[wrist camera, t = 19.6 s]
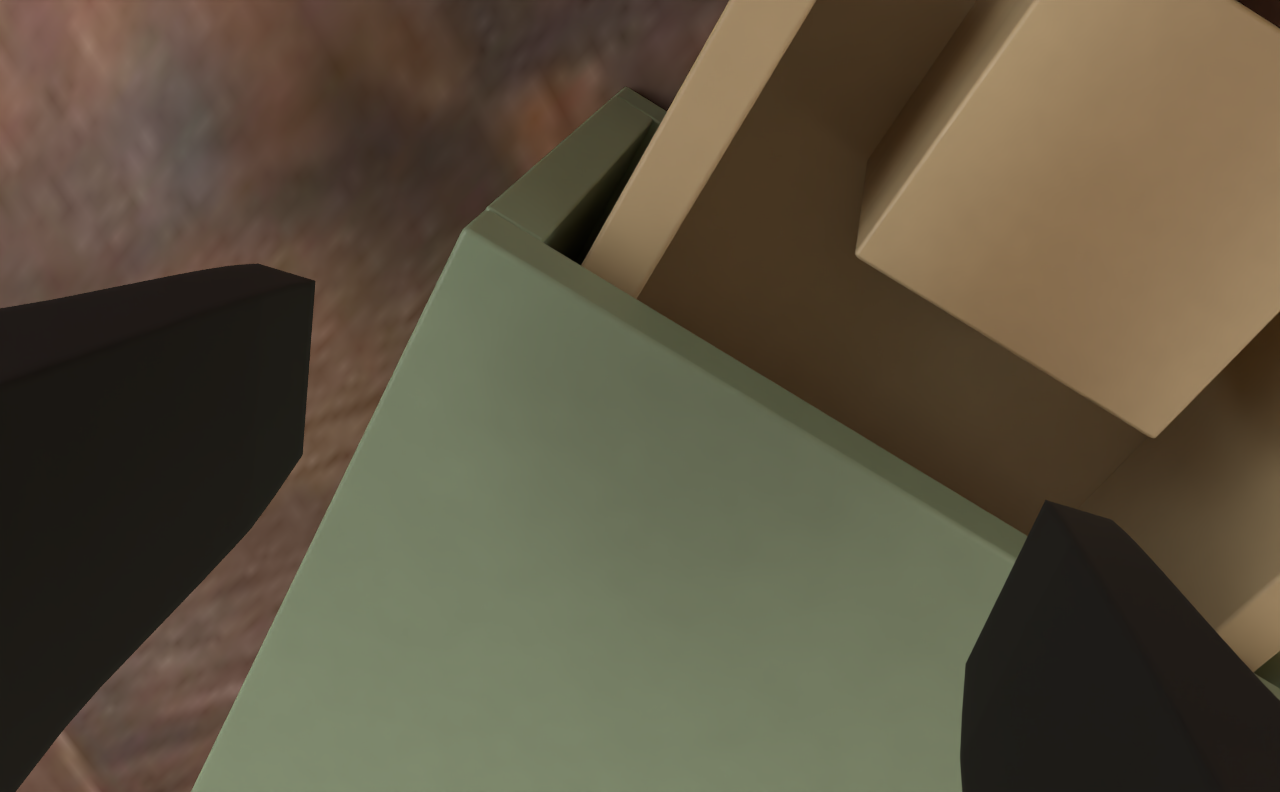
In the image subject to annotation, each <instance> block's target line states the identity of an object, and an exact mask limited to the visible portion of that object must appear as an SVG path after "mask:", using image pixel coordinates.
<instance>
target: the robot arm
mask: <svg viewBox="0 0 1280 792" xmlns="http://www.w3.org/2000/svg"><path fill="white" fill-rule="evenodd" d="M314 292H315V281H314V280H311V279H307V278H304V277H301V276H297V275H294V274H291V273H287V272H284V271H281V270H277V269H274V268H271V267H267V266H264V265H261V264H245V265H234V266H225V267H219V268H212V269H206V270H200V271H195V272H189V273H184V274H179V275H173V276H168V277H163V278H158V279H153V280H148V281H143V282H138V283H133V284H128V285H123V286H118V287H113V288H108V289H103V290H98V291H93V292H88V293H84V294H79V295H74V296H69V297H64V298H58V299H53V300H48V301H42V302H36V303H30V304H24V305H18V306H12V307H6V308H0V792H16V790H17V789H18V788H19V787H20V785H21V784H22V783H23V781H24V780H25V779H26V777H27V776H28V775H29V774H30V772H31V771H32V770H33V768H34V767H35V766H36V764H37V763H38V762H39V761H40V759H41V758H42V757H43V755H44V754H45V753H46V752H47V750H48V749H49V748H50V746H51V745H52V744H53V742H54V741H55V740H56V739H57V737H58V736H59V735H60V733H61V732H62V731H63V730H64V728H65V727H66V726H67V725H68V724H69V723H70V721H71V720H72V719H73V718H74V717H75V716H76V715H77V713H78V712H79V711H80V710H81V709H82V708H83V707H84V705H85V704H86V703H87V702H88V701H89V700H90V699H91V697H92V696H93V695H94V694H95V693H96V692H97V691H98V689H99V688H100V687H101V686H102V685H103V684H104V683H105V682H106V681H107V680H108V679H109V678H110V677H111V676H112V675H113V674H114V673H115V672H116V671H117V670H118V668H119V667H120V666H121V665H122V664H123V663H124V662H125V661H126V660H127V659H128V658H129V657H130V656H131V655H132V654H133V653H134V652H135V651H136V650H137V649H138V648H139V647H140V646H141V644H142V643H143V642H144V641H145V640H146V639H147V638H148V637H149V636H150V635H151V634H152V633H153V632H154V631H155V630H156V629H157V628H158V627H159V626H160V625H161V624H162V623H163V622H164V620H165V619H166V618H167V617H168V616H169V615H170V614H171V613H172V612H173V611H174V610H175V609H176V608H177V607H178V606H179V605H180V604H181V603H182V602H183V601H184V600H185V599H186V598H187V596H188V595H189V594H190V593H191V592H192V591H193V590H194V589H195V588H196V587H197V586H198V585H199V584H200V583H201V582H202V581H203V580H204V579H205V578H206V576H207V575H208V574H209V573H210V572H211V571H212V570H213V569H214V568H215V567H216V566H217V565H218V564H219V563H220V562H221V561H222V559H223V558H224V557H225V556H226V555H227V554H228V553H229V552H230V551H231V550H232V549H233V548H234V547H235V546H236V544H237V543H238V542H239V541H240V540H241V539H242V538H243V537H244V536H245V535H246V533H247V532H248V531H249V530H250V529H251V528H252V526H253V525H254V524H255V522H256V521H257V520H258V518H259V517H260V515H261V514H262V513H263V511H264V510H265V509H266V507H267V506H268V504H269V503H270V502H271V500H272V499H273V498H274V496H275V495H276V493H277V492H278V490H279V489H280V487H281V486H282V484H283V483H284V481H285V480H286V478H287V477H288V475H289V474H290V473H291V471H292V470H293V468H294V467H295V465H296V464H297V462H298V461H299V459H300V458H301V456H302V454H303V440H304V427H305V414H306V400H307V387H308V373H309V360H310V346H311V333H312V319H313V306H314ZM960 767H961V782H962V792H1280V700H1279V699H1278V698H1277V697H1276V696H1275V695H1274V694H1273V693H1272V692H1271V691H1270V690H1269V689H1268V688H1267V687H1266V686H1265V685H1264V684H1263V683H1262V681H1261V680H1260V679H1259V678H1258V677H1257V676H1256V675H1255V674H1254V673H1253V672H1252V671H1251V670H1250V668H1249V667H1248V666H1247V665H1246V664H1245V663H1244V662H1243V661H1242V660H1241V659H1240V658H1239V656H1238V655H1237V654H1236V653H1235V652H1234V651H1233V650H1232V649H1231V648H1230V647H1229V645H1228V644H1227V643H1226V642H1225V641H1224V640H1223V639H1222V638H1221V637H1220V635H1219V634H1218V633H1217V632H1216V631H1215V630H1214V629H1213V628H1212V626H1211V625H1210V624H1209V623H1208V622H1207V621H1206V620H1205V619H1204V618H1203V616H1202V615H1201V614H1200V613H1199V612H1198V611H1197V610H1196V609H1195V607H1194V606H1193V605H1192V604H1191V603H1190V602H1189V601H1188V599H1187V598H1186V597H1185V596H1184V595H1183V594H1182V593H1181V592H1180V590H1179V589H1178V588H1177V587H1176V586H1175V585H1174V584H1173V583H1172V581H1171V580H1170V579H1169V578H1168V577H1167V576H1166V575H1165V574H1164V572H1163V571H1162V570H1161V569H1160V568H1159V567H1158V566H1157V565H1156V564H1155V562H1154V561H1153V560H1152V559H1151V558H1150V557H1149V556H1148V555H1147V554H1146V553H1145V552H1144V550H1143V549H1142V548H1141V547H1140V546H1139V545H1138V544H1137V543H1136V542H1135V541H1134V540H1133V539H1132V538H1131V537H1130V536H1129V535H1128V534H1127V533H1126V532H1125V531H1124V530H1123V529H1122V528H1121V527H1119V526H1118V525H1117V524H1116V523H1115V522H1114V521H1113V520H1111V519H1108V518H1105V517H1101V516H1098V515H1095V514H1091V513H1088V512H1085V511H1081V510H1078V509H1075V508H1071V507H1068V506H1065V505H1061V504H1058V503H1055V502H1051V501H1048V500H1045V502H1044V504H1043V506H1042V508H1041V510H1040V512H1039V514H1038V516H1037V518H1036V520H1035V522H1034V524H1033V526H1032V528H1031V530H1030V532H1029V535H1028V537H1027V539H1026V541H1025V543H1024V545H1023V547H1022V549H1021V551H1020V553H1019V555H1018V557H1017V559H1016V561H1015V563H1014V565H1013V567H1012V569H1011V571H1010V574H1009V576H1008V578H1007V580H1006V582H1005V584H1004V586H1003V588H1002V590H1001V592H1000V594H999V596H998V598H997V600H996V602H995V604H994V606H993V608H992V611H991V613H990V615H989V617H988V619H987V621H986V623H985V625H984V627H983V629H982V631H981V633H980V635H979V637H978V639H977V641H976V643H975V645H974V647H973V650H972V652H971V654H970V656H969V658H968V660H967V662H966V664H965V678H964V692H963V705H962V722H961V744H960Z"/></svg>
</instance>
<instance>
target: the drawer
mask: <svg viewBox="0 0 1280 792" xmlns="http://www.w3.org/2000/svg"><path fill="white" fill-rule="evenodd" d="M975 2H976V0H729V2H728V4H727V5H726V7H725V9H724V11H723V13H722V14H721V16H720V18H719V20H718V22H717V23H716V25H715V27H714V29H713V31H712V32H711V34H710V36H709V38H708V39H707V41H706V43H705V45H704V47H703V48H702V50H701V52H700V54H699V56H698V57H697V59H696V61H695V63H694V64H693V66H692V68H691V70H690V72H689V73H688V75H687V77H686V79H685V81H684V82H683V84H682V86H681V88H680V89H679V91H678V93H677V95H676V97H675V98H674V100H673V102H672V104H671V106H670V107H669V109H668V111H667V113H666V114H665V116H664V118H663V120H662V122H661V123H660V125H659V127H658V129H657V131H656V132H655V134H654V136H653V138H652V140H651V141H650V143H649V145H648V147H647V148H646V150H645V152H644V154H643V156H642V157H641V159H640V161H639V163H638V165H637V166H636V168H635V170H634V172H633V173H632V175H631V177H630V179H629V181H628V182H627V184H626V186H625V188H624V190H623V191H622V193H621V195H620V197H619V198H618V200H617V202H616V204H615V206H614V207H613V209H612V211H611V213H610V215H609V216H608V218H607V220H606V222H605V223H604V225H603V227H602V229H601V231H600V232H599V234H598V236H597V238H596V240H595V241H594V243H593V245H592V247H591V249H590V250H589V252H588V254H587V256H586V257H585V259H584V261H583V263H582V265H581V266H582V267H584V268H586V269H587V270H589V271H591V272H592V273H594V274H596V275H597V276H599V277H601V278H602V279H604V280H605V281H607V282H609V283H610V284H612V285H614V286H615V287H617V288H619V289H620V290H622V291H624V292H625V293H627V294H629V295H630V296H632V297H634V298H635V299H637V300H639V301H640V302H642V303H643V304H645V305H647V306H648V307H650V308H652V309H653V310H655V311H657V312H658V313H660V314H662V315H663V316H665V317H667V318H668V319H670V320H672V321H673V322H675V323H677V324H678V325H680V326H681V327H683V328H685V329H686V330H688V331H690V332H691V333H693V334H695V335H696V336H698V337H700V338H701V339H703V340H705V341H706V342H708V343H710V344H711V345H713V346H714V347H716V348H718V349H719V350H721V351H723V352H724V353H726V354H728V355H729V356H731V357H733V358H734V359H736V360H738V361H739V362H741V363H743V364H744V365H746V366H748V367H749V368H751V369H752V370H754V371H756V372H757V373H759V374H761V375H762V376H764V377H766V378H767V379H769V380H771V381H772V382H774V383H776V384H777V385H779V386H781V387H782V388H784V389H786V390H787V391H789V392H790V393H792V394H794V395H795V396H797V397H799V398H800V399H802V400H804V401H805V402H807V403H809V404H810V405H812V406H814V407H815V408H817V409H819V410H820V411H822V412H824V413H825V414H827V415H828V416H830V417H832V418H833V419H835V420H837V421H838V422H840V423H842V424H843V425H845V426H847V427H848V428H850V429H852V430H853V431H855V432H857V433H858V434H860V435H861V436H863V437H865V438H866V439H868V440H870V441H871V442H873V443H875V444H876V445H878V446H880V447H881V448H883V449H885V450H886V451H888V452H890V453H891V454H893V455H895V456H896V457H898V458H899V459H901V460H903V461H904V462H906V463H908V464H909V465H911V466H913V467H914V468H916V469H918V470H919V471H921V472H923V473H924V474H926V475H928V476H929V477H931V478H933V479H934V480H936V481H937V482H939V483H941V484H942V485H944V486H946V487H947V488H949V489H951V490H952V491H954V492H956V493H957V494H959V495H961V496H962V497H964V498H966V499H967V500H969V501H970V502H972V503H974V504H975V505H977V506H979V507H980V508H982V509H984V510H985V511H987V512H989V513H990V514H992V515H994V516H995V517H997V518H999V519H1000V520H1002V521H1004V522H1005V523H1007V524H1008V525H1010V526H1012V527H1013V528H1015V529H1017V530H1018V531H1020V532H1022V533H1023V534H1025V535H1027V536H1028V535H1029V532H1030V530H1031V528H1032V526H1033V524H1034V522H1035V520H1036V518H1037V516H1038V514H1039V512H1040V510H1041V508H1042V506H1043V504H1044V502H1045V500H1048V501H1051V502H1055V503H1058V504H1061V505H1065V506H1068V507H1071V508H1075V509H1078V510H1081V511H1085V512H1088V513H1091V514H1095V515H1098V516H1101V517H1105V518H1108V519H1111V520H1113V521H1114V522H1115V523H1116V524H1117V525H1118V526H1119V527H1121V528H1122V529H1123V530H1124V531H1125V532H1126V533H1127V534H1128V535H1129V536H1130V537H1131V538H1132V539H1133V540H1134V541H1135V542H1136V543H1137V544H1138V545H1139V546H1140V547H1141V548H1142V549H1143V550H1144V552H1145V553H1146V554H1147V555H1148V556H1149V557H1150V558H1151V559H1152V560H1153V561H1154V562H1155V564H1156V565H1157V566H1158V567H1159V568H1160V569H1161V570H1162V571H1163V572H1164V574H1165V575H1166V576H1167V577H1168V578H1169V579H1170V580H1171V581H1172V583H1173V584H1174V585H1175V586H1176V587H1177V588H1178V589H1179V590H1180V592H1181V593H1182V594H1183V595H1184V596H1185V597H1186V598H1187V599H1188V601H1189V602H1190V603H1191V604H1192V605H1193V606H1194V607H1195V609H1196V610H1197V611H1198V612H1199V613H1200V614H1201V615H1202V616H1203V618H1204V619H1205V620H1206V621H1207V622H1208V623H1209V624H1210V625H1211V626H1212V628H1213V629H1214V630H1215V631H1216V632H1217V633H1218V634H1219V635H1220V637H1221V638H1222V639H1223V640H1224V641H1225V642H1226V643H1227V644H1228V645H1229V647H1230V648H1231V649H1232V650H1233V651H1234V652H1235V653H1236V654H1237V655H1238V656H1239V658H1240V659H1241V660H1242V661H1243V662H1244V663H1245V664H1246V665H1247V666H1248V667H1249V668H1250V670H1251V671H1252V672H1255V671H1256V670H1257V669H1258V668H1259V667H1261V666H1262V665H1263V664H1264V663H1266V662H1267V661H1268V660H1269V659H1270V658H1272V657H1273V656H1274V655H1275V654H1277V653H1278V652H1279V651H1280V312H1279V313H1278V314H1277V315H1276V316H1275V317H1274V318H1273V319H1272V320H1271V321H1270V322H1269V323H1268V324H1267V325H1266V326H1265V327H1264V328H1263V329H1262V330H1261V331H1260V332H1259V333H1258V334H1257V335H1256V336H1255V337H1254V338H1253V339H1252V340H1251V341H1250V342H1249V343H1248V344H1247V345H1246V346H1245V347H1244V348H1243V349H1242V350H1241V351H1240V353H1239V354H1238V355H1237V356H1236V357H1235V358H1234V359H1233V360H1232V361H1231V362H1230V363H1229V364H1228V365H1227V366H1226V367H1225V368H1224V369H1223V370H1222V371H1221V372H1220V373H1219V374H1218V375H1217V376H1216V377H1215V378H1214V379H1213V380H1212V381H1211V382H1210V383H1209V384H1208V385H1207V386H1206V387H1205V388H1204V389H1203V390H1202V391H1201V392H1200V393H1199V394H1198V395H1197V396H1196V397H1195V398H1194V399H1193V400H1192V401H1191V403H1190V404H1189V405H1188V406H1187V407H1186V408H1185V409H1184V410H1183V411H1182V412H1181V413H1180V414H1179V415H1178V416H1177V417H1176V418H1175V419H1174V420H1173V421H1172V422H1171V423H1170V424H1169V425H1168V426H1167V427H1166V428H1165V429H1164V430H1163V431H1162V432H1161V433H1160V434H1159V435H1158V436H1157V437H1156V438H1150V437H1148V436H1147V435H1145V434H1143V433H1142V432H1140V431H1138V430H1137V429H1135V428H1134V427H1132V426H1130V425H1129V424H1127V423H1125V422H1124V421H1122V420H1121V419H1119V418H1117V417H1116V416H1114V415H1112V414H1111V413H1109V412H1108V411H1106V410H1104V409H1103V408H1101V407H1099V406H1098V405H1096V404H1095V403H1093V402H1091V401H1090V400H1088V399H1086V398H1085V397H1083V396H1082V395H1080V394H1078V393H1077V392H1075V391H1073V390H1072V389H1070V388H1069V387H1067V386H1065V385H1064V384H1062V383H1060V382H1059V381H1057V380H1056V379H1054V378H1052V377H1051V376H1049V375H1047V374H1046V373H1044V372H1043V371H1041V370H1039V369H1038V368H1036V367H1034V366H1033V365H1031V364H1030V363H1028V362H1026V361H1025V360H1023V359H1021V358H1020V357H1018V356H1017V355H1015V354H1013V353H1012V352H1010V351H1008V350H1007V349H1005V348H1004V347H1002V346H1000V345H999V344H997V343H995V342H994V341H992V340H991V339H989V338H987V337H986V336H984V335H982V334H981V333H979V332H978V331H976V330H974V329H973V328H971V327H969V326H968V325H966V324H965V323H963V322H961V321H960V320H958V319H956V318H955V317H953V316H952V315H950V314H948V313H947V312H945V311H943V310H942V309H940V308H939V307H937V306H935V305H934V304H932V303H930V302H929V301H927V300H926V299H924V298H922V297H921V296H919V295H917V294H916V293H914V292H913V291H911V290H909V289H908V288H906V287H904V286H903V285H901V284H900V283H898V282H896V281H895V280H893V279H891V278H890V277H888V276H886V275H885V274H883V273H882V272H880V271H878V270H877V269H875V268H873V267H872V266H870V265H869V264H867V263H865V262H864V261H862V260H860V259H859V258H857V256H856V255H855V249H856V242H857V234H858V227H859V219H860V212H861V204H862V196H863V189H864V181H865V174H866V166H867V160H868V159H869V157H870V156H871V154H872V153H873V151H874V150H875V148H876V147H877V145H878V144H879V143H880V141H881V140H882V138H883V137H884V135H885V134H886V132H887V131H888V129H889V128H890V126H891V125H892V123H893V122H894V121H895V119H896V118H897V116H898V115H899V113H900V112H901V110H902V109H903V107H904V106H905V104H906V103H907V101H908V100H909V98H910V97H911V96H912V94H913V93H914V91H915V90H916V88H917V87H918V85H919V84H920V82H921V81H922V79H923V78H924V76H925V75H926V74H927V72H928V71H929V69H930V68H931V66H932V65H933V63H934V62H935V60H936V59H937V57H938V56H939V54H940V53H941V52H942V50H943V49H944V47H945V46H946V44H947V43H948V41H949V40H950V38H951V37H952V35H953V34H954V32H955V31H956V29H957V28H958V27H959V25H960V24H961V22H962V21H963V19H964V18H965V16H966V15H967V13H968V12H969V10H970V9H971V7H972V6H973V5H974V3H975Z"/></svg>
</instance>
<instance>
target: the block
mask: <svg viewBox="0 0 1280 792" xmlns="http://www.w3.org/2000/svg"><path fill="white" fill-rule="evenodd" d="M855 255H856V256H857V258H859V259H860V260H862V261H864V262H865V263H867V264H869V265H870V266H872V267H873V268H875V269H877V270H878V271H880V272H882V273H883V274H885V275H886V276H888V277H890V278H891V279H893V280H895V281H896V282H898V283H900V284H901V285H903V286H904V287H906V288H908V289H909V290H911V291H913V292H914V293H916V294H917V295H919V296H921V297H922V298H924V299H926V300H927V301H929V302H930V303H932V304H934V305H935V306H937V307H939V308H940V309H942V310H943V311H945V312H947V313H948V314H950V315H952V316H953V317H955V318H956V319H958V320H960V321H961V322H963V323H965V324H966V325H968V326H969V327H971V328H973V329H974V330H976V331H978V332H979V333H981V334H982V335H984V336H986V337H987V338H989V339H991V340H992V341H994V342H995V343H997V344H999V345H1000V346H1002V347H1004V348H1005V349H1007V350H1008V351H1010V352H1012V353H1013V354H1015V355H1017V356H1018V357H1020V358H1021V359H1023V360H1025V361H1026V362H1028V363H1030V364H1031V365H1033V366H1034V367H1036V368H1038V369H1039V370H1041V371H1043V372H1044V373H1046V374H1047V375H1049V376H1051V377H1052V378H1054V379H1056V380H1057V381H1059V382H1060V383H1062V384H1064V385H1065V386H1067V387H1069V388H1070V389H1072V390H1073V391H1075V392H1077V393H1078V394H1080V395H1082V396H1083V397H1085V398H1086V399H1088V400H1090V401H1091V402H1093V403H1095V404H1096V405H1098V406H1099V407H1101V408H1103V409H1104V410H1106V411H1108V412H1109V413H1111V414H1112V415H1114V416H1116V417H1117V418H1119V419H1121V420H1122V421H1124V422H1125V423H1127V424H1129V425H1130V426H1132V427H1134V428H1135V429H1137V430H1138V431H1140V432H1142V433H1143V434H1145V435H1147V436H1148V437H1150V438H1156V437H1157V436H1158V435H1159V434H1160V433H1161V432H1162V431H1163V430H1164V429H1165V428H1166V427H1167V426H1168V425H1169V424H1170V423H1171V422H1172V421H1173V420H1174V419H1175V418H1176V417H1177V416H1178V415H1179V414H1180V413H1181V412H1182V411H1183V410H1184V409H1185V408H1186V407H1187V406H1188V405H1189V404H1190V403H1191V401H1192V400H1193V399H1194V398H1195V397H1196V396H1197V395H1198V394H1199V393H1200V392H1201V391H1202V390H1203V389H1204V388H1205V387H1206V386H1207V385H1208V384H1209V383H1210V382H1211V381H1212V380H1213V379H1214V378H1215V377H1216V376H1217V375H1218V374H1219V373H1220V372H1221V371H1222V370H1223V369H1224V368H1225V367H1226V366H1227V365H1228V364H1229V363H1230V362H1231V361H1232V360H1233V359H1234V358H1235V357H1236V356H1237V355H1238V354H1239V353H1240V351H1241V350H1242V349H1243V348H1244V347H1245V346H1246V345H1247V344H1248V343H1249V342H1250V341H1251V340H1252V339H1253V338H1254V337H1255V336H1256V335H1257V334H1258V333H1259V332H1260V331H1261V330H1262V329H1263V328H1264V327H1265V326H1266V325H1267V324H1268V323H1269V322H1270V321H1271V320H1272V319H1273V318H1274V317H1275V316H1276V315H1277V314H1278V313H1279V312H1280V28H1278V27H1277V26H1275V25H1274V24H1272V23H1271V22H1269V21H1267V20H1266V19H1264V18H1263V17H1261V16H1260V15H1258V14H1257V13H1255V12H1253V11H1252V10H1250V9H1249V8H1247V7H1246V6H1244V5H1243V4H1241V3H1239V2H1238V1H1236V0H976V2H975V3H974V5H973V6H972V7H971V9H970V10H969V12H968V13H967V15H966V16H965V18H964V19H963V21H962V22H961V24H960V25H959V27H958V28H957V29H956V31H955V32H954V34H953V35H952V37H951V38H950V40H949V41H948V43H947V44H946V46H945V47H944V49H943V50H942V52H941V53H940V54H939V56H938V57H937V59H936V60H935V62H934V63H933V65H932V66H931V68H930V69H929V71H928V72H927V74H926V75H925V76H924V78H923V79H922V81H921V82H920V84H919V85H918V87H917V88H916V90H915V91H914V93H913V94H912V96H911V97H910V98H909V100H908V101H907V103H906V104H905V106H904V107H903V109H902V110H901V112H900V113H899V115H898V116H897V118H896V119H895V121H894V122H893V123H892V125H891V126H890V128H889V129H888V131H887V132H886V134H885V135H884V137H883V138H882V140H881V141H880V143H879V144H878V145H877V147H876V148H875V150H874V151H873V153H872V154H871V156H870V157H869V159H868V160H867V166H866V174H865V181H864V189H863V196H862V204H861V212H860V219H859V227H858V234H857V242H856V249H855Z"/></svg>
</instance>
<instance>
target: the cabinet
mask: <svg viewBox="0 0 1280 792" xmlns="http://www.w3.org/2000/svg"><path fill="white" fill-rule="evenodd" d="M666 113H667V111H665V110H664V109H662V108H660V107H659V106H657V105H655V104H654V103H652V102H651V101H649V100H647V99H646V98H644V97H642V96H641V95H639V94H638V93H636V92H634V91H633V90H631V89H630V88H628V87H624V88H623V89H622V90H621V91H620V92H619V93H617V94H616V95H615V96H614V97H612V98H611V99H610V100H609V101H608V102H607V103H606V104H604V105H603V106H602V107H601V108H600V109H599V110H598V111H596V112H595V113H594V114H593V115H592V116H591V117H590V118H588V119H587V120H586V121H585V122H584V123H583V124H582V125H580V126H579V127H578V128H577V129H576V130H575V131H574V132H572V133H571V134H570V135H569V136H568V137H567V138H566V139H564V140H563V141H562V142H561V143H560V144H559V145H558V146H556V147H555V148H554V149H553V150H552V151H551V152H550V153H548V154H547V155H546V156H545V157H544V158H543V159H542V160H540V161H539V162H538V163H537V164H536V165H535V166H534V167H532V168H531V169H530V170H529V171H528V172H527V173H526V174H524V175H523V176H522V177H521V178H520V179H519V180H518V181H516V182H515V183H514V184H513V185H512V186H511V187H510V188H508V189H507V190H506V191H505V192H504V193H503V194H502V195H500V196H499V197H498V198H497V199H496V200H495V201H494V202H492V203H491V204H490V205H489V206H488V207H487V208H486V209H485V211H483V212H482V213H481V214H480V215H479V216H478V217H476V218H475V219H474V220H473V221H472V222H471V223H470V224H468V225H467V226H466V227H465V228H464V229H463V230H462V232H461V234H460V236H459V238H458V240H457V242H456V244H455V246H454V248H453V250H452V252H451V254H450V257H449V259H448V261H447V263H446V265H445V267H444V269H443V271H442V273H441V275H440V277H439V279H438V281H437V283H436V286H435V288H434V290H433V292H432V294H431V296H430V298H429V300H428V302H427V304H426V306H425V308H424V310H423V312H422V315H421V317H420V319H419V321H418V323H417V325H416V327H415V329H414V331H413V333H412V335H411V337H410V339H409V341H408V344H407V346H406V348H405V350H404V352H403V354H402V356H401V358H400V360H399V362H398V364H397V366H396V368H395V370H394V373H393V375H392V377H391V379H390V381H389V383H388V385H387V387H386V389H385V391H384V393H383V395H382V397H381V399H380V402H379V404H378V406H377V408H376V410H375V412H374V414H373V416H372V418H371V420H370V422H369V424H368V426H367V428H366V431H365V433H364V435H363V437H362V439H361V441H360V443H359V445H358V447H357V449H356V451H355V453H354V455H353V457H352V460H351V462H350V464H349V466H348V468H347V470H346V472H345V474H344V476H343V478H342V480H341V482H340V484H339V486H338V489H337V491H336V493H335V495H334V497H333V499H332V501H331V503H330V505H329V507H328V509H327V511H326V513H325V515H324V518H323V520H322V522H321V524H320V526H319V528H318V530H317V532H316V534H315V536H314V538H313V540H312V542H311V544H310V547H309V549H308V551H307V553H306V555H305V557H304V559H303V561H302V563H301V565H300V567H299V569H298V571H297V573H296V576H295V578H294V580H293V582H292V584H291V586H290V588H289V590H288V592H287V594H286V596H285V598H284V600H283V602H282V605H281V607H280V609H279V611H278V613H277V615H276V617H275V619H274V621H273V623H272V625H271V627H270V629H269V631H268V634H267V636H266V638H265V640H264V642H263V644H262V646H261V648H260V650H259V652H258V654H257V656H256V658H255V660H254V663H253V665H252V667H251V669H250V671H249V673H248V675H247V677H246V679H245V681H244V683H243V685H242V687H241V689H240V692H239V694H238V696H237V698H236V700H235V702H234V704H233V706H232V708H231V710H230V712H229V714H228V716H227V718H226V721H225V723H224V725H223V727H222V729H221V731H220V733H219V735H218V737H217V739H216V741H215V743H214V745H213V747H212V750H211V752H210V754H209V756H208V758H207V760H206V762H205V764H204V766H203V768H202V770H201V772H200V774H199V776H198V779H197V781H196V783H195V785H194V787H193V789H192V791H191V792H962V782H961V767H960V744H961V722H962V705H963V692H964V678H965V664H966V662H967V660H968V658H969V656H970V654H971V652H972V650H973V647H974V645H975V643H976V641H977V639H978V637H979V635H980V633H981V631H982V629H983V627H984V625H985V623H986V621H987V619H988V617H989V615H990V613H991V611H992V608H993V606H994V604H995V602H996V600H997V598H998V596H999V594H1000V592H1001V590H1002V588H1003V586H1004V584H1005V582H1006V580H1007V578H1008V576H1009V574H1010V571H1011V569H1012V567H1013V565H1014V563H1015V561H1016V559H1017V557H1018V555H1019V553H1020V551H1021V549H1022V547H1023V545H1024V543H1025V541H1026V539H1027V537H1028V536H1027V535H1025V534H1023V533H1022V532H1020V531H1018V530H1017V529H1015V528H1013V527H1012V526H1010V525H1008V524H1007V523H1005V522H1004V521H1002V520H1000V519H999V518H997V517H995V516H994V515H992V514H990V513H989V512H987V511H985V510H984V509H982V508H980V507H979V506H977V505H975V504H974V503H972V502H970V501H969V500H967V499H966V498H964V497H962V496H961V495H959V494H957V493H956V492H954V491H952V490H951V489H949V488H947V487H946V486H944V485H942V484H941V483H939V482H937V481H936V480H934V479H933V478H931V477H929V476H928V475H926V474H924V473H923V472H921V471H919V470H918V469H916V468H914V467H913V466H911V465H909V464H908V463H906V462H904V461H903V460H901V459H899V458H898V457H896V456H895V455H893V454H891V453H890V452H888V451H886V450H885V449H883V448H881V447H880V446H878V445H876V444H875V443H873V442H871V441H870V440H868V439H866V438H865V437H863V436H861V435H860V434H858V433H857V432H855V431H853V430H852V429H850V428H848V427H847V426H845V425H843V424H842V423H840V422H838V421H837V420H835V419H833V418H832V417H830V416H828V415H827V414H825V413H824V412H822V411H820V410H819V409H817V408H815V407H814V406H812V405H810V404H809V403H807V402H805V401H804V400H802V399H800V398H799V397H797V396H795V395H794V394H792V393H790V392H789V391H787V390H786V389H784V388H782V387H781V386H779V385H777V384H776V383H774V382H772V381H771V380H769V379H767V378H766V377H764V376H762V375H761V374H759V373H757V372H756V371H754V370H752V369H751V368H749V367H748V366H746V365H744V364H743V363H741V362H739V361H738V360H736V359H734V358H733V357H731V356H729V355H728V354H726V353H724V352H723V351H721V350H719V349H718V348H716V347H714V346H713V345H711V344H710V343H708V342H706V341H705V340H703V339H701V338H700V337H698V336H696V335H695V334H693V333H691V332H690V331H688V330H686V329H685V328H683V327H681V326H680V325H678V324H677V323H675V322H673V321H672V320H670V319H668V318H667V317H665V316H663V315H662V314H660V313H658V312H657V311H655V310H653V309H652V308H650V307H648V306H647V305H645V304H643V303H642V302H640V301H639V300H637V299H635V298H634V297H632V296H630V295H629V294H627V293H625V292H624V291H622V290H620V289H619V288H617V287H615V286H614V285H612V284H610V283H609V282H607V281H605V280H604V279H602V278H601V277H599V276H597V275H596V274H594V273H592V272H591V271H589V270H587V269H586V268H584V267H582V266H581V265H582V263H583V261H584V259H585V257H586V256H587V254H588V252H589V250H590V249H591V247H592V245H593V243H594V241H595V240H596V238H597V236H598V234H599V232H600V231H601V229H602V227H603V225H604V223H605V222H606V220H607V218H608V216H609V215H610V213H611V211H612V209H613V207H614V206H615V204H616V202H617V200H618V198H619V197H620V195H621V193H622V191H623V190H624V188H625V186H626V184H627V182H628V181H629V179H630V177H631V175H632V173H633V172H634V170H635V168H636V166H637V165H638V163H639V161H640V159H641V157H642V156H643V154H644V152H645V150H646V148H647V147H648V145H649V143H650V141H651V140H652V138H653V136H654V134H655V132H656V131H657V129H658V127H659V125H660V123H661V122H662V120H663V118H664V116H665V114H666ZM1253 673H1254V674H1255V675H1256V676H1257V677H1258V678H1259V679H1260V680H1261V681H1262V683H1263V684H1264V685H1265V686H1266V687H1267V688H1268V689H1269V690H1270V691H1271V692H1272V693H1273V694H1274V695H1275V696H1276V697H1277V698H1278V699H1279V700H1280V651H1279V652H1278V653H1277V654H1275V655H1274V656H1273V657H1272V658H1270V659H1269V660H1268V661H1267V662H1266V663H1264V664H1263V665H1262V666H1261V667H1259V668H1258V669H1257V670H1256V671H1255V672H1253Z"/></svg>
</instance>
